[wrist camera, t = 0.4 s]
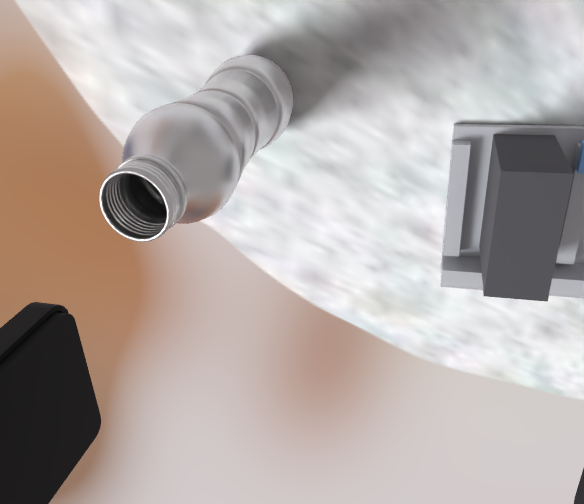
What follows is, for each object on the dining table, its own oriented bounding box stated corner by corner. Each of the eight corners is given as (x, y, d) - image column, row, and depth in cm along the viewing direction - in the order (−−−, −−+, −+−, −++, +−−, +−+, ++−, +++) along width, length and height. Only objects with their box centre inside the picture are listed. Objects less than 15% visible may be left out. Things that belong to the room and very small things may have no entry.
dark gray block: (493, 134, 39) (500, 171, 33) (554, 135, 38) (573, 173, 32) (479, 245, 44) (483, 296, 38) (534, 249, 43) (547, 301, 37)
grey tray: (453, 123, 40) (454, 137, 38) (744, 128, 36) (766, 143, 33) (441, 266, 46) (440, 286, 44) (689, 284, 42) (704, 308, 39)
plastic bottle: (313, 71, 41) (218, 176, 24) (280, 151, 44) (178, 289, 28) (233, 33, 41) (82, 110, 24) (207, 115, 44) (60, 233, 28)
